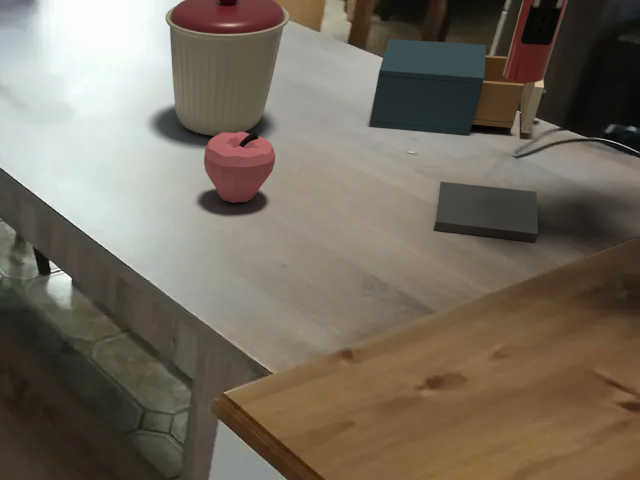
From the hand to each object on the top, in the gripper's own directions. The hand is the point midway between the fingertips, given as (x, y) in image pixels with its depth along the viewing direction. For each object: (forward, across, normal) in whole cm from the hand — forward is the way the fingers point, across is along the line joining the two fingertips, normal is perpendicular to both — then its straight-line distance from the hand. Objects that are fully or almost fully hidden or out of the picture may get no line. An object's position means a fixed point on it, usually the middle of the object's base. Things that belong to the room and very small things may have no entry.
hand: (535, 34), depth 108 cm
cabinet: (+22, +32, +10) cm, 40 cm away
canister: (+22, +20, +40) cm, 50 cm away
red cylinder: (+5, 0, 0) cm, 5 cm away
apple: (+22, -5, +32) cm, 39 cm away
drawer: (+21, +32, +1) cm, 38 cm away
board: (+22, -1, 0) cm, 22 cm away
